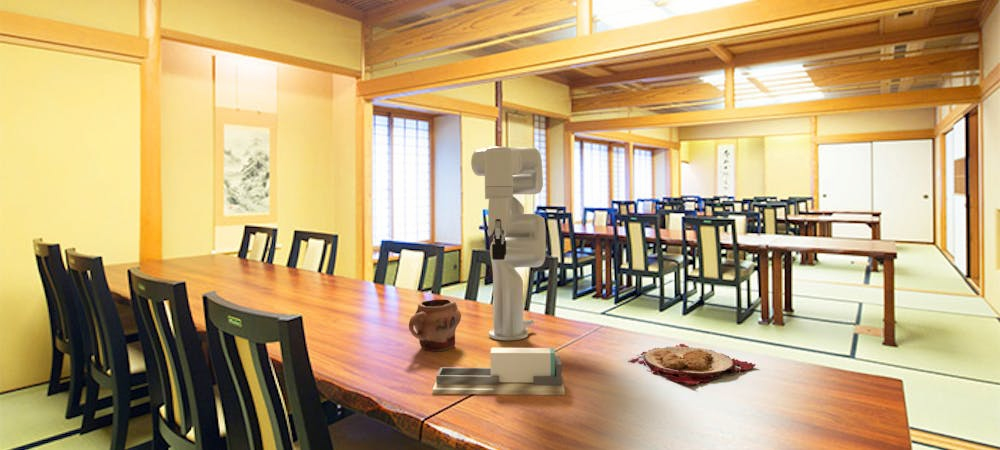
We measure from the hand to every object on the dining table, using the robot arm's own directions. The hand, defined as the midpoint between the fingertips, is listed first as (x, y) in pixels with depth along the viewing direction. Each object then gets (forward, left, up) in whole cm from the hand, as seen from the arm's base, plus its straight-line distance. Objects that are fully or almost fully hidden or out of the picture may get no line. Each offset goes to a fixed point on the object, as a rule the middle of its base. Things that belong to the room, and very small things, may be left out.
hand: (499, 257), depth 137 cm
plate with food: (-33, +36, -29) cm, 57 cm away
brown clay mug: (+7, -21, -28) cm, 36 cm away
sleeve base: (+12, +13, -28) cm, 33 cm away
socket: (+4, +21, -27) cm, 35 cm away
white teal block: (+8, +17, -27) cm, 33 cm away
